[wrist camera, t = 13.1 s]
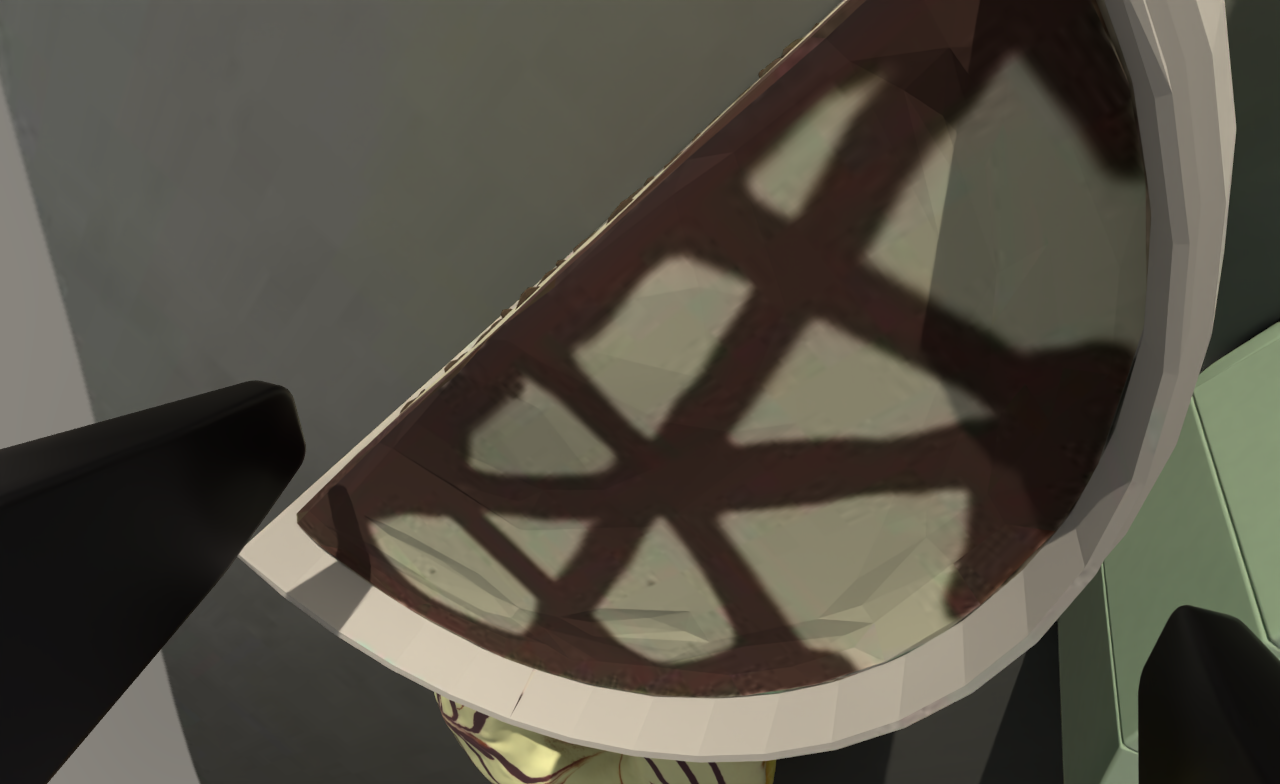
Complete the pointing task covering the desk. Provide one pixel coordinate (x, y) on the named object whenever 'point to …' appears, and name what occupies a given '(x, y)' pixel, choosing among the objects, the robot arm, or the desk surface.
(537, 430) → the food container
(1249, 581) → the pot
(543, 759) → the decorated donut
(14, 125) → the desk surface
